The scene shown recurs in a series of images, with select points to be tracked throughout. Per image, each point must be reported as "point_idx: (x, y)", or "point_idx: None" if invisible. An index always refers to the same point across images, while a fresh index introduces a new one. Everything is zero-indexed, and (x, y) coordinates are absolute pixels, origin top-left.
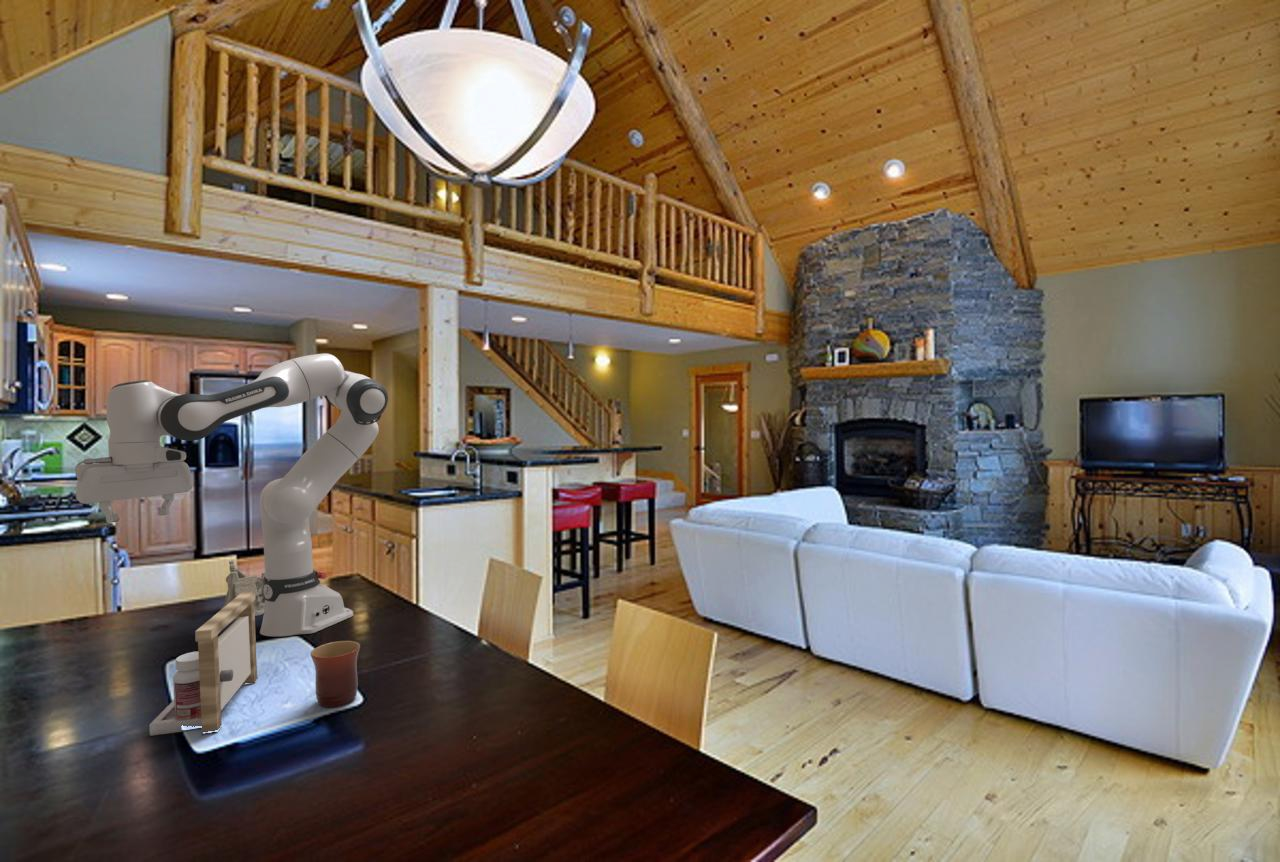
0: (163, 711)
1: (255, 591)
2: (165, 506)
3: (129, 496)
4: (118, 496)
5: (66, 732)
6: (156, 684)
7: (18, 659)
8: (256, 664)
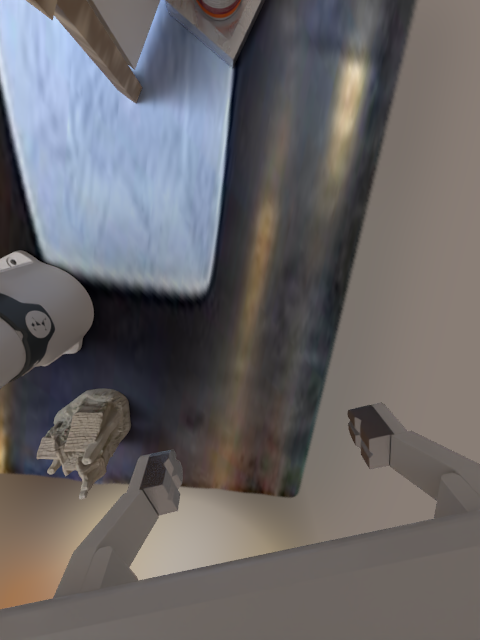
0: (256, 7)
1: (74, 420)
2: (139, 496)
3: (372, 555)
4: (469, 550)
5: (340, 115)
6: (232, 210)
7: (312, 413)
8: (107, 77)
